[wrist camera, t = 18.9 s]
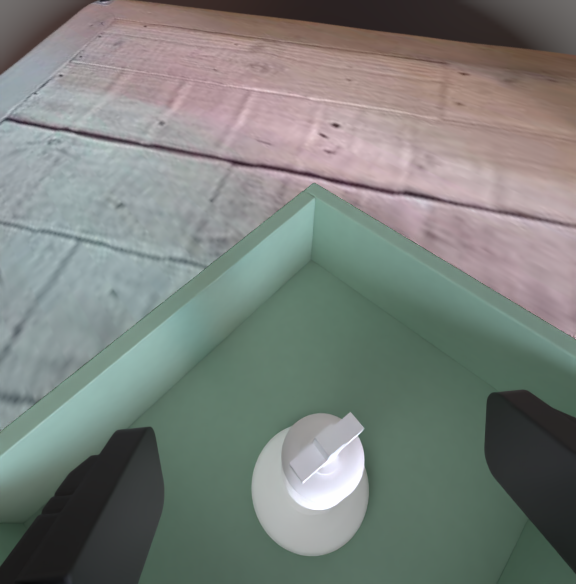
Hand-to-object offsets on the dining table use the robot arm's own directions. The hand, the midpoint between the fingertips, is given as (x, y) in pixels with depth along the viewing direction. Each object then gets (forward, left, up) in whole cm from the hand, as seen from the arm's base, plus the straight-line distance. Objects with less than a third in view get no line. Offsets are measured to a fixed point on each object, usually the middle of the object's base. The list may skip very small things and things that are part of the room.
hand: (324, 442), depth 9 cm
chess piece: (0, 0, -8) cm, 8 cm away
